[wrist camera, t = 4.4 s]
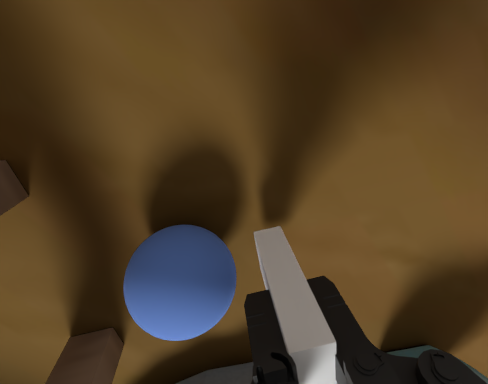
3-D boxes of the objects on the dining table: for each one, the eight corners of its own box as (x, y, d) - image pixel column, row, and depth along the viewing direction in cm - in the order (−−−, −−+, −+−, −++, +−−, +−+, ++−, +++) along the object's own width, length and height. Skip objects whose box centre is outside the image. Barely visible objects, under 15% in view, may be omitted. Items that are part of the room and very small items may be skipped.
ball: (262, 297, 14) (195, 268, 17) (248, 216, 12) (174, 199, 15) (195, 393, 10) (124, 333, 13) (156, 300, 8) (81, 254, 11)
